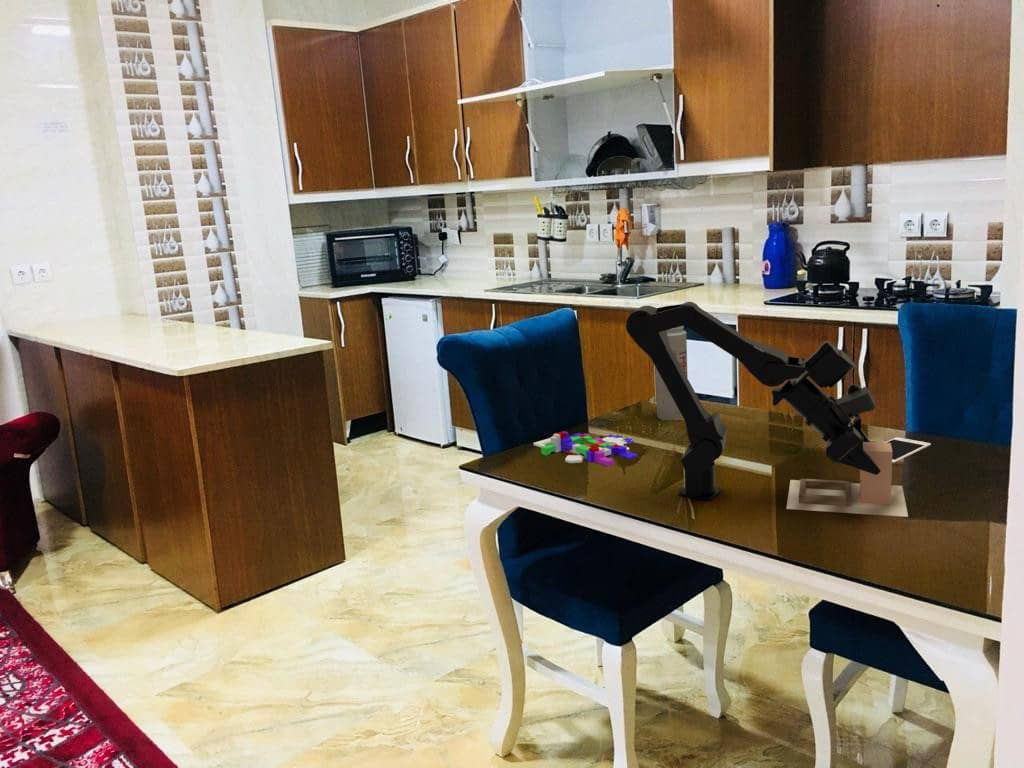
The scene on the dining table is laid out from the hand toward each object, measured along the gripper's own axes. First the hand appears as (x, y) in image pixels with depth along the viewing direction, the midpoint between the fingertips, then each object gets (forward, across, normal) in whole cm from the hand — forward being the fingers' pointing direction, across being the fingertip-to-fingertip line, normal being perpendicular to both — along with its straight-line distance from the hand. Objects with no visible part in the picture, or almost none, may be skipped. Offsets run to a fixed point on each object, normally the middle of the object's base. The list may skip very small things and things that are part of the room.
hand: (877, 464), depth 151 cm
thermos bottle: (-28, +52, +38) cm, 70 cm away
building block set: (-37, +24, +49) cm, 66 cm away
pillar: (+4, 0, +5) cm, 7 cm away
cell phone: (+9, +32, +2) cm, 34 cm away
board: (+2, 0, +9) cm, 9 cm away
